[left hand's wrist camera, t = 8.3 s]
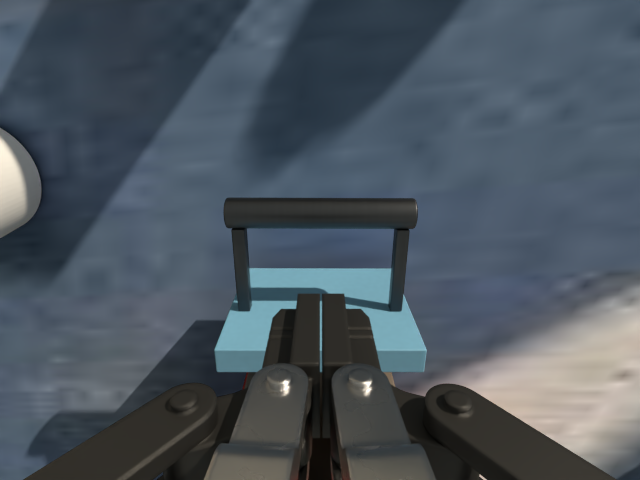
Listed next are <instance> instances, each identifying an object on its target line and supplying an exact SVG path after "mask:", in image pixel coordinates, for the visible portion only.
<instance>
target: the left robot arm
mask: <svg viewBox="0 0 640 480" xmlns="http://www.w3.org/2000/svg"><path fill="white" fill-rule="evenodd" d="M322 436H323V438H330V442H331V476H332V480H483V479H482V478H480V477H479V474H481V475H482V476H483V477H484V478H486V479H487V480H616V479H615V478H613V477H612V476H610V475H608V474H607V473H605V472H604V471H602V470H600V469H599V468H597V467H595V466H594V465H592V464H591V463H589V462H587V461H586V460H584V459H583V458H581V457H579V456H578V455H576V454H574V453H573V452H571V451H570V450H568V449H566V448H565V447H563V446H562V445H560V444H558V443H557V442H555V441H553V440H552V439H550V438H549V437H547V436H545V435H544V434H542V433H541V432H539V431H537V430H536V429H534V428H532V427H531V426H529V425H528V424H526V423H524V422H523V421H521V420H520V419H518V418H516V417H515V416H513V415H511V414H510V413H508V412H507V411H505V410H503V409H502V408H500V407H499V406H497V405H495V404H494V403H492V402H490V401H489V400H487V399H486V398H484V397H482V396H481V395H479V394H478V393H476V392H474V391H472V390H471V389H468V388H466V387H463V386H460V385H456V384H440V385H437V386H434V387H432V388H431V389H430V390H428V392H427V393H426V396H425V397H424V396H420V395H415V394H411V393H408V392H405V391H402V390H400V389H398V388H396V387H394V386H393V385H391V384H390V382H389V379H388V377H387V376H386V375H385V374H384V373H383V372H382V371H381V368H380V363H379V359H378V354H377V350H376V345H375V341H374V336H373V332H372V327H371V323H370V318H369V317H368V316H367V315H366V314H365V313H364V312H363V310H362V309H346V304H345V296H344V294H322ZM312 438H320V294H298V295H297V304H296V309H280V311H279V312H278V313H277V314H276V315H275V316H274V317H273V318H272V323H271V328H270V332H269V339H268V342H267V347H266V351H265V356H264V361H263V365H262V369H260V370H259V371H258V372H257V373H255V375H254V376H253V377H252V379H251V382H250V385H249V387H247V388H245V389H243V390H241V391H239V392H235V393H232V394H228V395H224V396H220V397H216V394H215V392H214V390H213V389H212V388H211V387H209V386H207V385H205V384H201V383H186V384H182V385H178V386H176V387H173V388H171V389H169V390H167V391H166V392H164V393H163V394H161V395H159V396H158V397H156V398H154V399H153V400H151V401H150V402H148V403H146V404H145V405H143V406H142V407H140V408H138V409H137V410H135V411H133V412H132V413H130V414H129V415H127V416H125V417H124V418H122V419H121V420H119V421H117V422H116V423H114V424H112V425H111V426H109V427H108V428H106V429H104V430H103V431H101V432H100V433H98V434H96V435H95V436H93V437H91V438H90V439H88V440H87V441H85V442H83V443H82V444H80V445H79V446H77V447H75V448H74V449H72V450H70V451H69V452H67V453H66V454H64V455H62V456H61V457H59V458H58V459H56V460H54V461H53V462H51V463H49V464H48V465H46V466H45V467H43V468H41V469H40V470H38V471H37V472H35V473H33V474H32V475H30V476H28V477H27V478H25V479H24V480H153V479H154V478H156V477H157V476H158V475H160V474H161V473H162V472H163V475H162V476H161V477H160V478H158V479H157V480H308V476H309V460H310V457H311V454H312Z"/></svg>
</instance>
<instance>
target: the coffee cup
mask: <svg viewBox="0 0 640 480" xmlns="http://www.w3.org/2000/svg"><path fill="white" fill-rule="evenodd" d="M40 200H41V180H40V176H39V173H38V170H37V167H36V165H35V163H34V161H33V159H32V158H31V156H30V155H29V153H28V152H27V151H26V149H25V148H24V147H23V146H22V145H21V144H20V143H19V142H18V141H17V140H16V139H15V138H14V137H13V136H11V135H10V134H9V133H7V132H6V131H4V130H3V129H1V128H0V238H2V237H3V236H5V235H7V234H9V233H10V232H12V231H14V230H15V229H17V228H19V227H20V226H22V225H24V224H25V223H27V222H28V221H29V220H30V219H31V218H32V217H33V215H34V214H35V213H36V211H37V209H38V207H39V204H40Z"/></svg>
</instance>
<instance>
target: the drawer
mask: <svg viewBox="0 0 640 480" xmlns="http://www.w3.org/2000/svg"><path fill="white" fill-rule="evenodd" d="M417 218H418V207H417V202H416V200H415V199H413V198H227V199H226V200H225V203H224V221H225V225H226V227H227V228H232V242H233V254H234V266H235V278H236V290H237V293H236V296H235V298H234V301H233V303H232V306H231V309H230V311H229V314H228V316H227V319H226V321H225V324H224V326H223V329H222V331H221V334H220V337H219V339H218V342H217V344H216V347H215V349H214V353H215V362H216V371H217V372H248V376H247V380H246V384H245V388H247V387H249V385H250V382H251V379H252V377H253V376H254V375H255V373H257V372H258V371H259V370H260V369H262V365H263V361H264V356H265V351H266V347H267V342H268V339H269V332H270V328H271V323H272V318H273V317H274V316H275V315H276V314H277V313H278V312H279V311H280V309H296V304H297V295H298V294H320V438H312V454H311V457H310V460H309V476H308V480H332V476H331V442H330V438H323V436H322V294H344V296H345V304H346V309H362V310H363V312H364V313H365V314H366V315H367V316H368V317H369V318H370V323H371V327H372V332H373V336H374V341H375V345H376V350H377V354H378V359H379V363H380V368H381V371H382V372H383V373H384V374H385V375H386V376H387V377H388V379H389V382H390V384H391V385H393V386H394V387H395V384H394V380H393V377H392V373H391V372H424V367H425V359H426V352H427V350H426V347H425V345H424V343H423V340H422V338H421V335H420V333H419V331H418V328H417V326H416V323H415V321H414V319H413V316H412V314H411V311H410V309H409V306H408V304H407V302H406V299H405V297H404V283H405V273H406V262H407V252H408V242H409V229H413V228H415V226H416V223H417ZM247 228H308V229H394V240H393V252H392V265H391V269H350V268H249V255H248V240H247ZM245 388H244V389H245Z"/></svg>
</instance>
